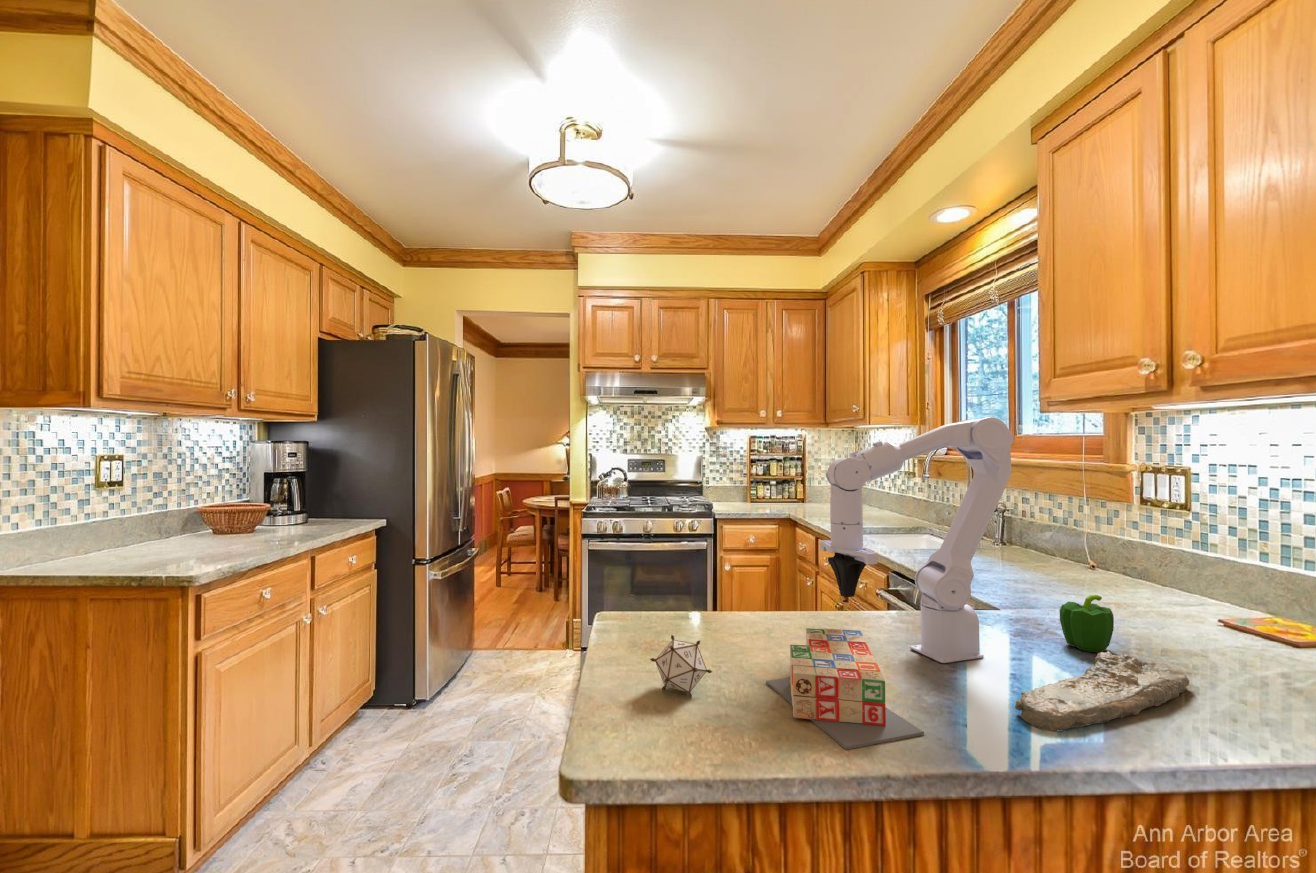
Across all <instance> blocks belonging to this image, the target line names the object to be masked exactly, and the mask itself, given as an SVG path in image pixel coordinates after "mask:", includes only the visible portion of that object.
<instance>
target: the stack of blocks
mask: <svg viewBox="0 0 1316 873" xmlns="http://www.w3.org/2000/svg"><path fill="white" fill-rule="evenodd" d="M789 658H790V660H789V663H790V665H789V671H790V672H789V674H790V683H791V697H792V704H791V706H792V715H793V718H795V719H805V720H810V719H816V720H821V721H832V722H850V723H862V724H867V725H878V726H886V708H887V707H886V680H885V678H884V676H883V674H882V671H881V669H880V667H879V665H878V664H877V661H876V659H875V657H874V656H873V654H872V652H871V650H870V648H869V646H868V643H867V641H866V639H865V637H864V635H863V632H862V631H861V630H853V629H841V628H840V629H838V628H824V629H823V628H812V627H811V628H807V627H806V628H805V644H789Z"/></svg>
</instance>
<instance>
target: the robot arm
mask: <svg viewBox="0 0 1316 873" xmlns="http://www.w3.org/2000/svg"><path fill="white" fill-rule="evenodd" d="M1014 440H1015V438H1014V436H1013V435H1012V433H1011V431H1010V429H1009V427H1008V426H1007V424H1006V423H1005V422H1004V421H1003V420H1001V419H1000V418H997V417H993V416H989V417H988V416H987V417H983V418H980V419H978V418H977V419H964V420H960V421H958V422H953V423H947V424H944V425H940V426H938V427H936V428H933V429H931V430H928V431H927V432H924V433H922V434H920V435H918V436H915V437H912V438H910V439H908V440H905V441H902V442H901V443H898V444H895V443H892V442H890V441H885V442H883V441H882V440H879V441H876V442H873V443H872V445H873V446H872V447H868V448H867V449H864V450H862V451H859V452H856V451H852V452H849V457H846V458H838V459H835V460H833V461H832V462H831V464H829V466H828V468H827V472H826V473H825V476H826V477H825V478H826V480H827V481H828V483H829V484H830V497H829V500H830V502H829V506H830V508H829V510H830V511H829V512H830V513H829V514H830V515H829V516H830V520H829V521H830V522H829V523H830V539H828V540H819V544H820V545H819V550H820V551H821V552H828V553H832V554H834V555H833V556H829V557H827V562H828V564H829V565H830V567H831V569H832V571H833V573H834V576H835V580H836V583H837V586H838V590H839V594H840V596H841V597H843V598H854V597H855V595H856V590H857V586H858V583H859V580H860V576H861V575H862V573H863V571H864V569H865V567H866V565H870V566H871V565H878V552H874V551H872V550H870V549H868V548H867V547H865V546H864V526H863V525H864V523H863V522H864V521H863V520H864V515H863V514H864V513H863V511H864V510H863V507H864V506H863V505H864V504H863V487H864V485H865V484H866V482H867V483H869V482H872V481H874V480H877V479H880V478H883V477H885V476H888V475H890V474H893V473H895V472H898V471H900V470H901V469H902V467H903V465H904V463H905V461H907V460H910V459H913V458H916V457H919V456H921V455H925V454H928V453H931V452H934V451H936V450H940V449H943V448H955V449H956V450H957V452H959V453H960V454H961V455H962V456H963V457H964V458H965V459H966V460H967V461H968V463H969V465H970V467H971V469H972V470H973V473H974V475H973V477H972V479H971V481H970V482H969V485H968V487H967V489H966V492H965V494H964V496H963V498H962V500H961V503H960V505H959V507H958V509H957V511H956V513H955V516H954V518H953V520H952V522H951V524H950V526H949V528H948V531H947V533H946V535H945V537H944V539H943V541H942V543H941V545H940V547H939V549H937V550H936V551H935V552H933V553H932V554H931V555H930V556H929V557H928V559H927V561H926V563H925V564H924V565H922V566H921V567H920V568H919V569H918V570H917V571H916V572H915V576H914V583H915V587H916V588H917V590H918V591H919V593H921V598H920V600H919V601H920V642H921V643H920V644H915V645H910V649H911V650H913V651H915V652H917V653H920V654H922V655H924V656H926V657H928V658H930V659H931V660H934V661H936V662H939V663H941V664H946V663H955V662H960V661H961V662H962V661H968V660H974V659H981V658H984V657H985V656H984V654H983V653H981V652H980V650H981V649H980V622H979V621H980V620H979V616H978V614H977V612H976V611H975V609H974V608H973V607H972V606H971V605H970V604H968V602H969V601H970V599H971V596H972V588H971V585H972V581H973V579H974V577H975V573H974V570H973V566H972V560H973V557H974V556H975V554H976V551H977V550H978V548H979V545H980V544H981V541H982V538H983V536H984V534H985V532H986V530H987V528H988V526H989V523H990V521H991V520H992V519H991V518H992V517H993V515H994V512H995V510H996V509H997V507H998V504H999V501H1000V500H1001V498H1002V496H1003V493H1004V491H1005V489H1006V486H1007V485H1008V482H1009V481H1010V479H1011V475H1012V458H1011V457H1012V456H1011V455H1012V453H1011V447H1012V444H1013V442H1014Z"/></svg>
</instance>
